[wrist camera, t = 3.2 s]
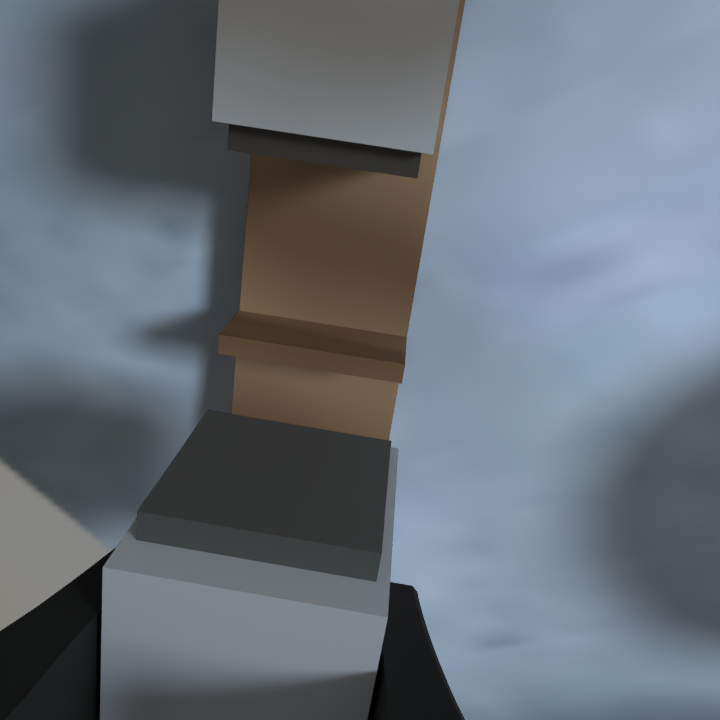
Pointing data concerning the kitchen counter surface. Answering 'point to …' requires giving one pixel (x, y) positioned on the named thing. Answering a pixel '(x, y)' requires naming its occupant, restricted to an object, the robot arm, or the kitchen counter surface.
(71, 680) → the robot arm
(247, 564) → the block
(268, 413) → the rail
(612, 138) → the kitchen counter surface
